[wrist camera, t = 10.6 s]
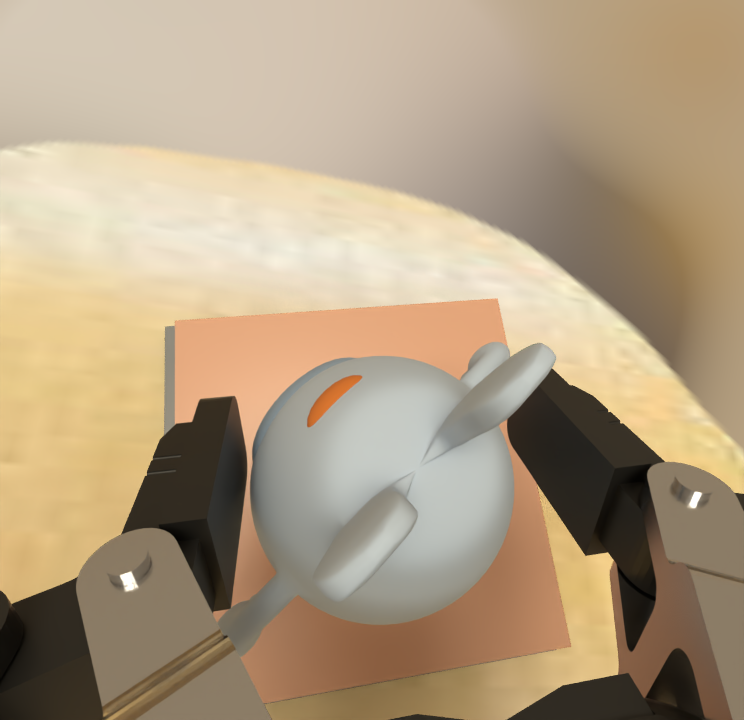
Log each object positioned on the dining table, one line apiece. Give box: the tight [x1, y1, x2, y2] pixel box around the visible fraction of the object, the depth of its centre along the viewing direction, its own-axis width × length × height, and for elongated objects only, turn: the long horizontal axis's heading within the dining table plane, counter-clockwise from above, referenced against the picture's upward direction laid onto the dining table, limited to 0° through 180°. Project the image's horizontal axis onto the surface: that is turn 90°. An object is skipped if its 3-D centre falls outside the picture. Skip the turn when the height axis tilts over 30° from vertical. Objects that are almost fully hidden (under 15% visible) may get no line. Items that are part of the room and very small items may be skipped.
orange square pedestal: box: [164, 299, 571, 704], centre depth 22 cm, size 20×20×9 cm
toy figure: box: [217, 342, 556, 657], centre depth 10 cm, size 11×6×12 cm, turn 136°
